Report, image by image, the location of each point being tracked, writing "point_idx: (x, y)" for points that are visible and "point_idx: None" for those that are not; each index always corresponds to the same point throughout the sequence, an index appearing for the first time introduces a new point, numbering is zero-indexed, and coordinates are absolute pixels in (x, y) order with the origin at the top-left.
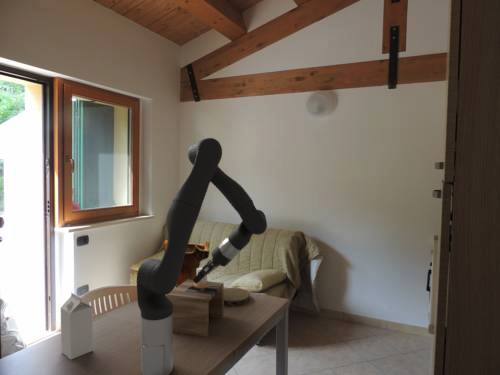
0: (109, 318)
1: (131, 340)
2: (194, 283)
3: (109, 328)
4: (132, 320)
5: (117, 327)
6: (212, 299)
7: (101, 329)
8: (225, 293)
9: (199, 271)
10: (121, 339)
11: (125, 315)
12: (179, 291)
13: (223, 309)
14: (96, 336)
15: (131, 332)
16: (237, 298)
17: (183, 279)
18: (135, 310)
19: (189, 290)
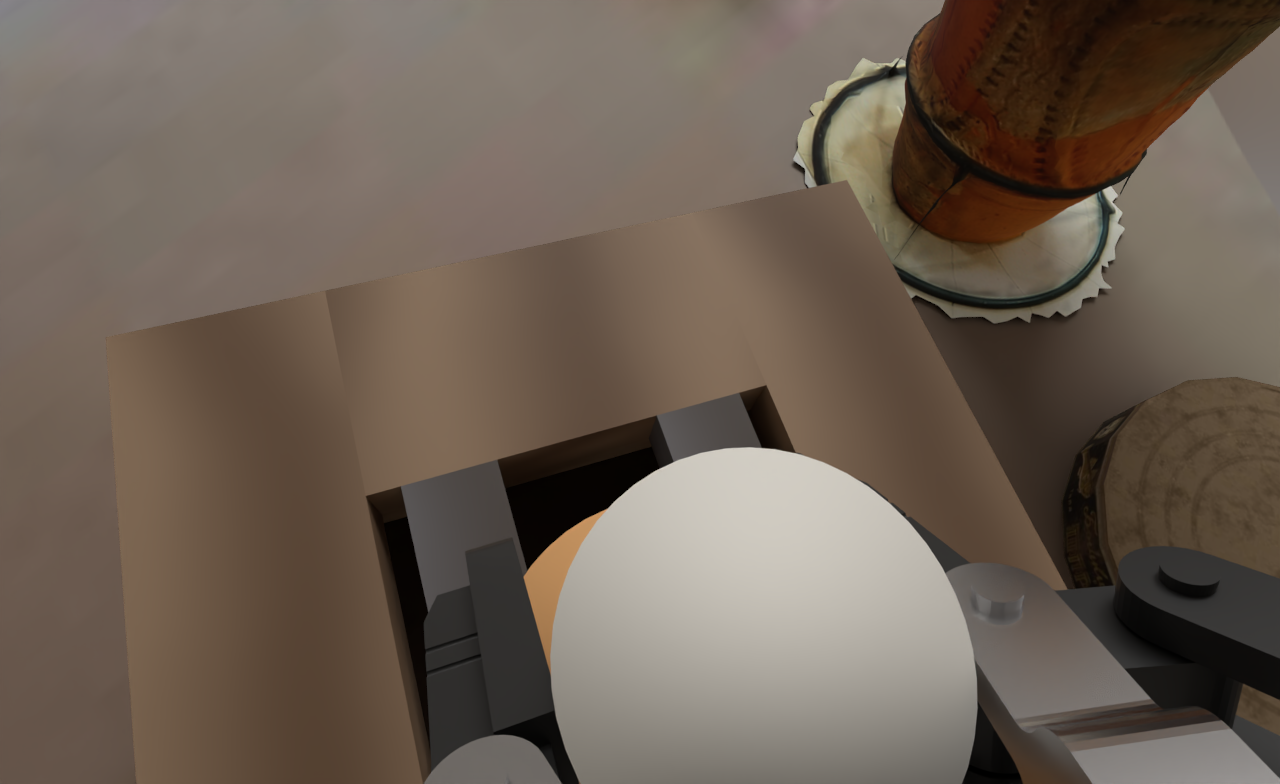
0: (303, 4)
1: (37, 370)
2: (554, 556)
3: (162, 104)
4: (354, 141)
5: (200, 135)
6: None
7: (125, 73)
8: (1234, 482)
9: (556, 717)
10: (26, 293)
11: (399, 52)
12: (329, 421)
13: None
14: (9, 119)
15: (167, 272)
16: (1262, 695)
17: (977, 55)
18: (506, 51)
19: (462, 535)
